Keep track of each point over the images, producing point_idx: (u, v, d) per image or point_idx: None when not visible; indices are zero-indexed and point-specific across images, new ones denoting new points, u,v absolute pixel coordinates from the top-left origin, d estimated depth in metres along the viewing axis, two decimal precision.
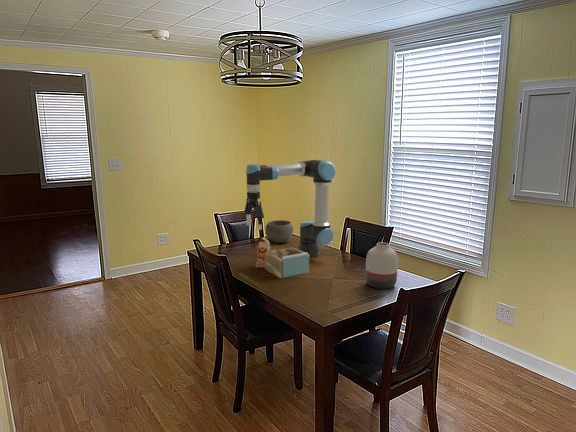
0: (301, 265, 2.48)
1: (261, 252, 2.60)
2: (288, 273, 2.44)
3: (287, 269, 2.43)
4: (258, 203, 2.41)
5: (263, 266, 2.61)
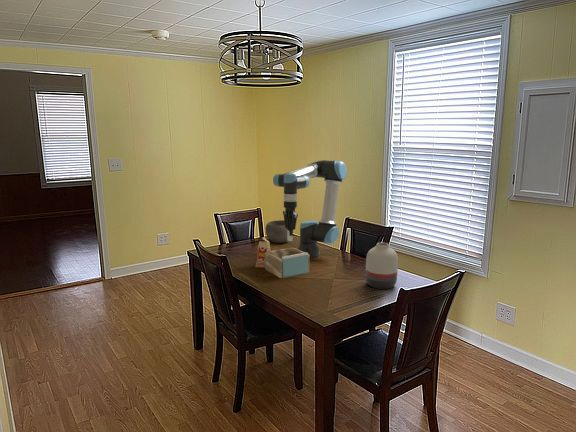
0: (301, 265, 2.48)
1: (261, 252, 2.60)
2: (288, 273, 2.44)
3: (287, 269, 2.43)
4: (295, 216, 2.40)
5: (263, 266, 2.61)
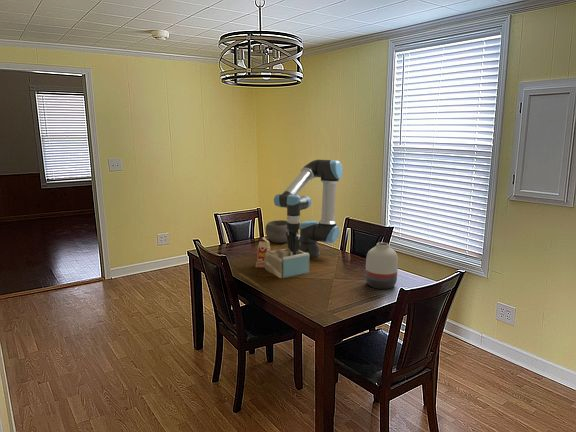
0: (302, 265, 2.48)
1: (261, 252, 2.60)
2: (288, 273, 2.44)
3: (287, 269, 2.43)
4: (298, 238, 2.40)
5: (263, 266, 2.61)
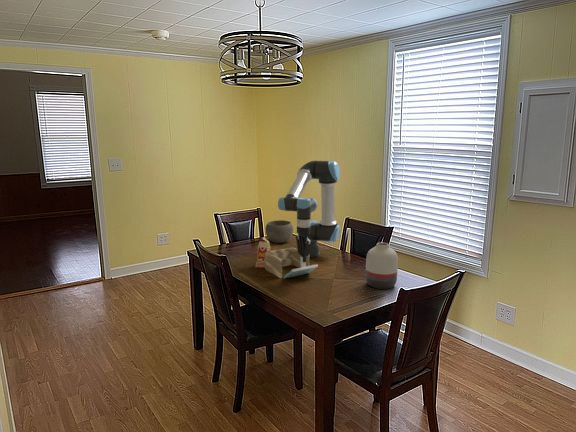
0: (305, 271, 2.45)
1: (261, 252, 2.60)
2: (290, 276, 2.43)
3: (291, 275, 2.41)
4: (308, 243, 2.31)
5: (263, 266, 2.61)
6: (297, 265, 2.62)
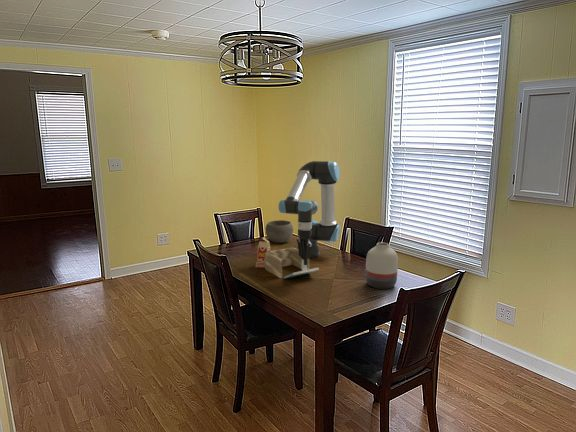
0: (306, 273, 2.45)
1: (261, 252, 2.60)
2: None
3: (291, 276, 2.41)
4: (310, 246, 2.31)
5: (263, 266, 2.61)
6: (297, 265, 2.62)
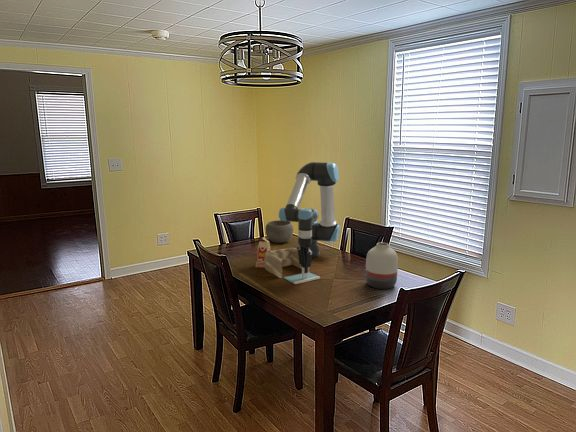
0: None
1: (261, 252, 2.60)
2: None
3: None
4: (310, 254, 2.31)
5: (263, 266, 2.61)
6: (297, 265, 2.62)
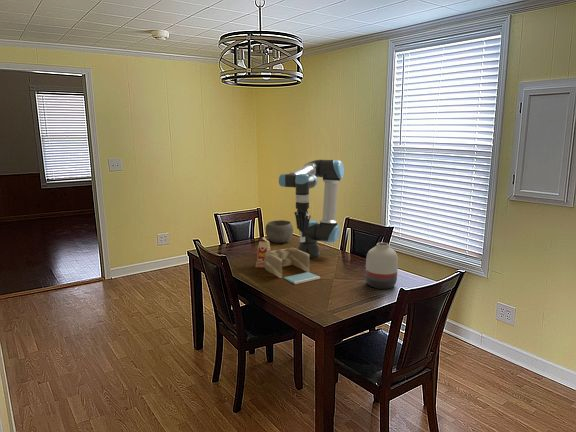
0: None
1: (261, 252, 2.60)
2: None
3: None
4: (307, 218, 2.36)
5: (263, 266, 2.61)
6: (297, 265, 2.62)
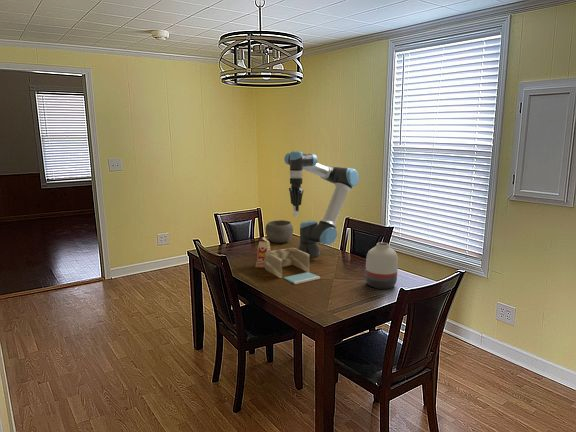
0: None
1: (261, 252, 2.60)
2: None
3: None
4: (300, 192, 2.51)
5: (263, 266, 2.61)
6: (297, 265, 2.62)
